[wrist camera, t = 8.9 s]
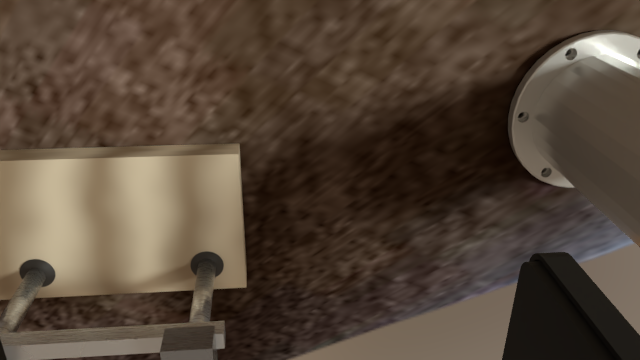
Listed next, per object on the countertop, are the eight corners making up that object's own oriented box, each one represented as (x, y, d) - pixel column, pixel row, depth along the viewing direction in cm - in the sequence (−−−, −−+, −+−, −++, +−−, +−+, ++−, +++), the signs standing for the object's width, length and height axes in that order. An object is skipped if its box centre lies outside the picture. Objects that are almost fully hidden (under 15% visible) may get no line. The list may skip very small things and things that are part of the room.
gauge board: (239, 143, 43) (238, 154, 41) (246, 273, 49) (246, 288, 47) (-39, 150, 41) (-53, 163, 39) (1, 284, 47) (-9, 301, 45)
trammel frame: (230, 234, 44) (221, 348, 33) (233, 271, 46) (224, 392, 35) (-19, 244, 43) (-117, 368, 32) (-7, 283, 44) (-96, 414, 33)
